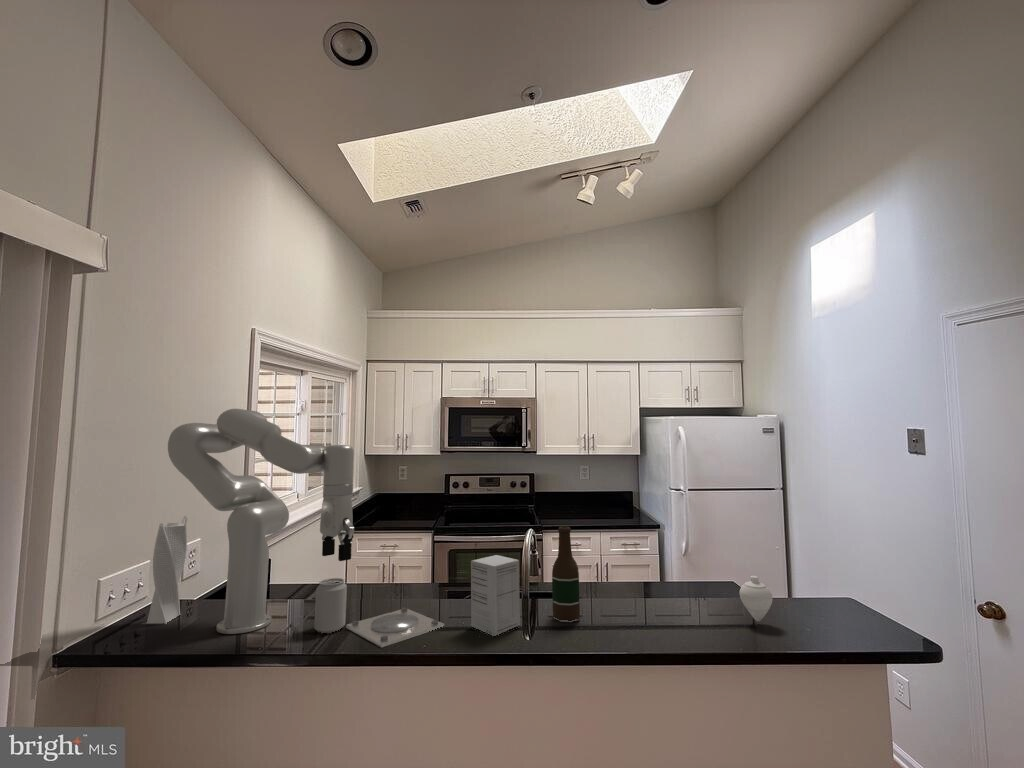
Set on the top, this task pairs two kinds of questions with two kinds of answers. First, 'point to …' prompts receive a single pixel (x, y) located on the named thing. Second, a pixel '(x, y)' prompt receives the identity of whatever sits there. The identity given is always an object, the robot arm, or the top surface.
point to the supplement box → (495, 594)
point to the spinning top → (756, 598)
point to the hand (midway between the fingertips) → (336, 557)
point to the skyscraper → (168, 571)
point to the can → (330, 605)
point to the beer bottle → (565, 580)
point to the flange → (393, 627)
